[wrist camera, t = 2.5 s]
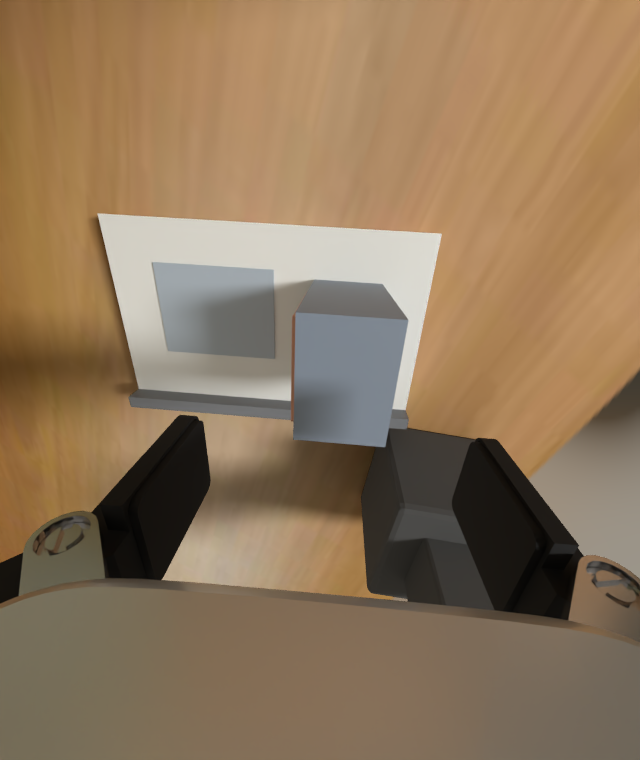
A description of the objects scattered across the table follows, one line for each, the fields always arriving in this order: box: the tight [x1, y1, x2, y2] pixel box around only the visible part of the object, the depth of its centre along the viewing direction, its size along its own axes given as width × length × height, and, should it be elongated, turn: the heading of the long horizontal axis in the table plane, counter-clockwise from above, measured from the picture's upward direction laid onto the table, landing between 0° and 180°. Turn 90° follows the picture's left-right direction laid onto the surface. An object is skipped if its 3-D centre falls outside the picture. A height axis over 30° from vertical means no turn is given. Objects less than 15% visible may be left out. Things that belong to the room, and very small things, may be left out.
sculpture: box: [361, 428, 494, 610], centre depth 18 cm, size 10×10×30 cm
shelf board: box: [98, 214, 442, 429], centre depth 25 cm, size 24×15×3 cm, turn 87°
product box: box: [291, 279, 409, 447], centre depth 20 cm, size 5×7×10 cm
